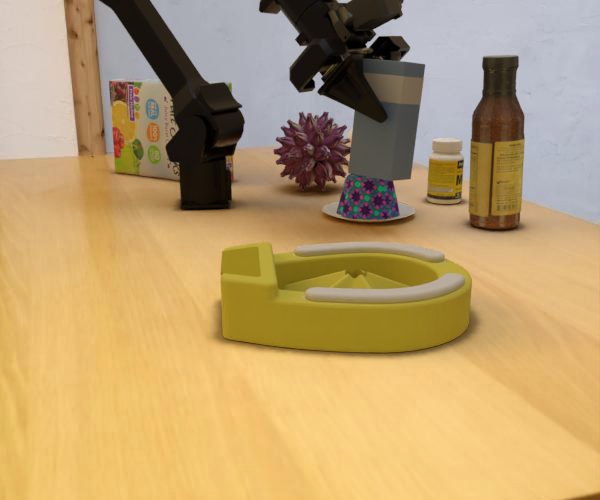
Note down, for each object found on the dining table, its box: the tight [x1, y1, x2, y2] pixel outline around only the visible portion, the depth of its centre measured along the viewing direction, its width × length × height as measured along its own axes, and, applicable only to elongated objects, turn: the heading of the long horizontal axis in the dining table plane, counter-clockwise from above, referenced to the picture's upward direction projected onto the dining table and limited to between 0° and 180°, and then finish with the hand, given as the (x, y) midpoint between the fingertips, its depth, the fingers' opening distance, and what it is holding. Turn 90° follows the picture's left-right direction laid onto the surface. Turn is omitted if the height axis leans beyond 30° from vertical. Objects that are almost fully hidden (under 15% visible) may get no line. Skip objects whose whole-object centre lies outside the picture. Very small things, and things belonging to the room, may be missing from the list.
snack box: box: [108, 78, 235, 182], centre depth 125 cm, size 21×6×15 cm, turn 58°
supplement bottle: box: [426, 137, 465, 205], centre depth 109 cm, size 5×5×8 cm
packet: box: [347, 58, 426, 182], centre depth 91 cm, size 6×4×13 cm
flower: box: [273, 110, 351, 192], centre depth 116 cm, size 12×12×12 cm
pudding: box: [321, 173, 416, 223], centre depth 101 cm, size 12×12×5 cm
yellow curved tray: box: [220, 241, 473, 354], centre depth 67 cm, size 16×21×5 cm
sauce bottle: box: [468, 54, 526, 230], centre depth 94 cm, size 7×6×20 cm
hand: (396, 118), depth 90 cm, fingers closed on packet, 5 cm apart
